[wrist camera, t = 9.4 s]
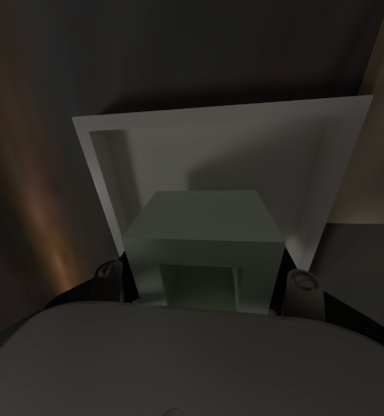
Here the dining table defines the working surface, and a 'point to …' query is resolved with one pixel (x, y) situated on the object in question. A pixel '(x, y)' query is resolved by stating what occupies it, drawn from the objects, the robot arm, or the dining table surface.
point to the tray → (228, 159)
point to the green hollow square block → (205, 251)
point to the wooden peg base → (366, 153)
